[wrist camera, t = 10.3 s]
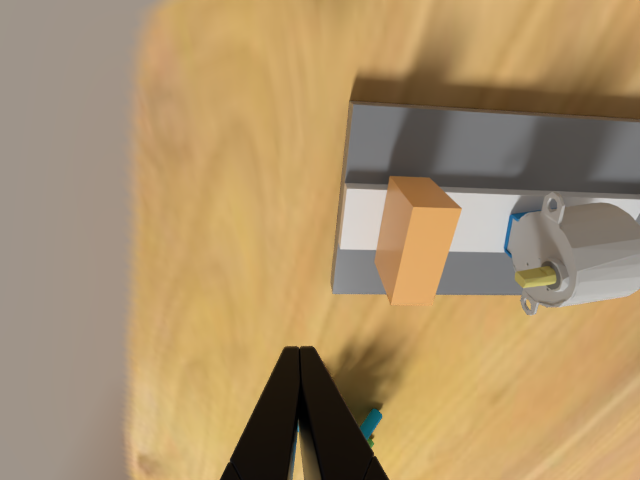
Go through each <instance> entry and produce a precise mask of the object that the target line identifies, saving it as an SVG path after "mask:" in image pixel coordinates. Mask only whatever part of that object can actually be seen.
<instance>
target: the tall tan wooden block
mask: <svg viewBox="0 0 640 480" xmlns="http://www.w3.org/2000/svg"><path fill="white" fill-rule="evenodd" d="M461 210H462V208H461V207H460V206H459V205H458V204H457V203H456V202H455V201H454V200H453V199H451V198H450V197H449V196H448V195H447V194H446V193H445V192H444V191H443V190H442V189H441V188H440V187H439V186H438V185H437V184H436V183H435V182H434V181H433V180H432V179H430V178H427V177H403V176H390V177H389V183H388V188H387V194H386V199H385V205H384V210H383V216H382V221H381V227H380V233H379V238H378V244H377V249H376V255H375V260H374V263H375V265H376V268H377V270H378V273H379V276H380V278H381V281H382V284H383V286H384V289H385V291H386V294H387V297H388V299H389V302H390V304H391V305H432V304H433V301H434V298H435V295H436V291H437V288H438V285H439V282H440V278H441V275H442V272H443V269H444V265H445V262H446V259H447V256H448V253H449V249H450V246H451V243H452V240H453V236H454V233H455V230H456V227H457V223H458V220H459V217H460V214H461Z"/></svg>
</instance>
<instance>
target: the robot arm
mask: <svg viewBox="0 0 640 480" xmlns="http://www.w3.org/2000/svg"><path fill="white" fill-rule="evenodd" d="M298 425H299V438H300V447H301V455H302V464H303V472H304V480H389V478H388V477H387V475H386V473H385V472H384V470H383V468H382V466H381V465H380V463H379V461H378V459H377V457H376V456H374V452H373V451H372V449H371V447H370V445H369V443H368V442H367V440H366V438H365V436H364V435H363V433H362V431H361V429H360V427H359V426H358V424H357V422H356V420H355V418H354V417H353V415H352V413H351V411H350V410H349V408H348V406H347V404H346V402H345V401H344V399H343V397H342V395H341V394H340V392H339V390H338V388H337V386H336V385H335V383H334V381H333V379H332V378H331V376H330V374H329V372H328V370H327V369H326V367H325V365H324V363H323V361H322V360H321V358H320V356H319V354H318V353H317V351H316V349H315V348H314V347H313V346H301V347H300V348H299V347H297V346H286V347H284V349H283V351H282V353H281V355H280V357H279V359H278V361H277V363H276V365H275V367H274V369H273V371H272V373H271V375H270V378H269V380H268V382H267V384H266V386H265V388H264V390H263V392H262V394H261V396H260V398H259V400H258V402H257V404H256V406H255V409H254V411H253V413H252V415H251V417H250V419H249V421H248V423H247V425H246V427H245V429H244V431H243V433H242V435H241V437H240V440H239V442H238V444H237V446H236V448H235V450H234V452H233V454H232V456H231V458H230V462H229V463H228V464H227V466H226V468H225V470H224V472H223V474H222V476H221V478H220V480H292V479H293V470H294V461H295V452H296V443H297V433H298Z"/></svg>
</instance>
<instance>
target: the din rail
mask: <svg viewBox="0 0 640 480" xmlns="http://www.w3.org/2000/svg"><path fill="white" fill-rule="evenodd" d="M390 176H403V177H427V178H430V179H432V180H433V181H434V182H435V183H436V184H437V185H438V186H439V187H440V188H441V189H442V190H443V191H444V192H445V193H446V194H447V195H448V196H449V197H450V198H451V199H453V200H454V201H455V202H456V203H457V204H458V205H459V206H460V207H461V208H462V210H461V214H460V217H459V220H458V223H457V227H456V230H455V233H454V236H453V240H452V243H451V246H450V249H449V253H448V256H447V259H446V262H445V265H444V269H443V272H442V275H441V278H440V282H439V285H438V288H437V291H436V295H522V292H523V288H522V287H521V286H520V285H519V284H518V283H517V282H516V281H515V270H514V267H513V261H512V258H510V257H509V256H508V255H507V254H506V253H505V252H504V243H505V238H506V232H507V227H508V221H509V216H510V215H511V214H515V213H523V212H530V211H537V210H542V206H543V201H544V197H545V196H546V195H548V194H549V193H551V192H558V193H559V194H560V195H561V196H562V197H563V200H564V203H565V207H570V206H576V205H583V204H590V203H600V202H603V203H610V204H613V205H615V206H618V207H619V208H621V209H622V210H624V211H625V212H627V213H629V214H630V215H631V216H632V217H633V218H634V220H635V221H636V222H637V223H638V224H639V225H640V119H629V118H613V117H597V116H582V115H566V114H550V113H534V112H519V111H503V110H487V109H472V108H456V107H440V106H424V105H409V104H393V103H377V102H362V101H349V110H348V120H347V129H346V139H345V149H344V158H343V168H342V177H341V187H340V196H339V206H338V216H337V225H336V235H335V244H334V254H333V263H332V273H331V288H332V294H386V291H385V289H384V286H383V284H382V281H381V278H380V276H379V273H378V270H377V268H376V265H375V263H374V260H375V255H376V249H377V244H378V238H379V233H380V227H381V221H382V216H383V210H384V205H385V199H386V194H387V188H388V183H389V177H390ZM550 208H557V202H556V200H555V199H551V201H550Z"/></svg>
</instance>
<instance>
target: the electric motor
mask: <svg viewBox="0 0 640 480" xmlns="http://www.w3.org/2000/svg"><path fill="white" fill-rule="evenodd" d="M551 199H555V200H556V202H557V208H550V201H551ZM504 252H505V253H506V254H507V255H508V256H509V257H510V258H512V261H513V267H514V270H515V281H516V282H517V283H518V284H519V285H520V286H521V287H522V288H523V292H522V296H521V300H520V301H521V305H522V308H523V310H524V311H525V312H526V314H527V315H534V314H536V312H537V309H538V305H539V304H541V305H543V306H545V307H563V306H570V305H576V304H582V303H589V302H595V301H602V300H608V299H614V298H620V297H626V296H629V295H631V294H632V293H634V292H636V291H637V290H639V289H640V225H639V224H638V223H637V222H636V221H635V220H634V218H633V217H632V216H631V215H630V214H629V213H627V212H625V211H624V210H622V209H621V208H619V207H618V206H615V205H613V204H610V203H603V202H600V203H590V204H583V205H576V206H570V207H565V203H564V200H563V197H562V196H561V195H560V194H559V193H558V192H551V193H549V194H548V195H546V196H545V197H544V201H543V206H542V210H537V211H530V212H523V213H515V214H511V215H510V216H509V221H508V227H507V232H506V238H505V243H504ZM526 299H528V300H529V301H530V303H531V310H529V308H528V307H527V305H526Z"/></svg>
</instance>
